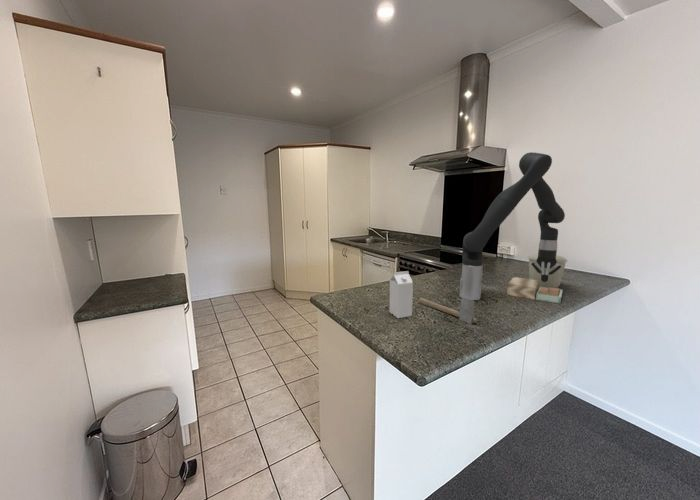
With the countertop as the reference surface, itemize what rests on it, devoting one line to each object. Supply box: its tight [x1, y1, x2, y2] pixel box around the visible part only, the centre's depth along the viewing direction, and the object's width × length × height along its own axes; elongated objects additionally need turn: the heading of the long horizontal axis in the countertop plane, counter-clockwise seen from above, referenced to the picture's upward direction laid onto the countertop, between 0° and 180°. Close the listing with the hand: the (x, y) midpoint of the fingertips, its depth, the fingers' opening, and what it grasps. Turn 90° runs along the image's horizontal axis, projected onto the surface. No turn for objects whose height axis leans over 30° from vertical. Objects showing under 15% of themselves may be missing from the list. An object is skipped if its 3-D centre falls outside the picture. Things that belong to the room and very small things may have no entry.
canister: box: [527, 253, 568, 288], centre depth 152 cm, size 18×18×21 cm
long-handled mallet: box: [418, 297, 478, 325], centre depth 118 cm, size 10×2×30 cm
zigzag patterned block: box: [506, 276, 539, 300], centre depth 143 cm, size 12×16×6 cm
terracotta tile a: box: [540, 287, 548, 295], centre depth 135 cm, size 4×5×3 cm
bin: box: [535, 286, 563, 305], centre depth 136 cm, size 10×16×3 cm, turn 140°
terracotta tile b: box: [548, 287, 560, 297], centre depth 138 cm, size 4×5×3 cm
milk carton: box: [389, 270, 414, 319], centre depth 116 cm, size 7×7×19 cm
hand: (544, 281), depth 140 cm, fingers closed
